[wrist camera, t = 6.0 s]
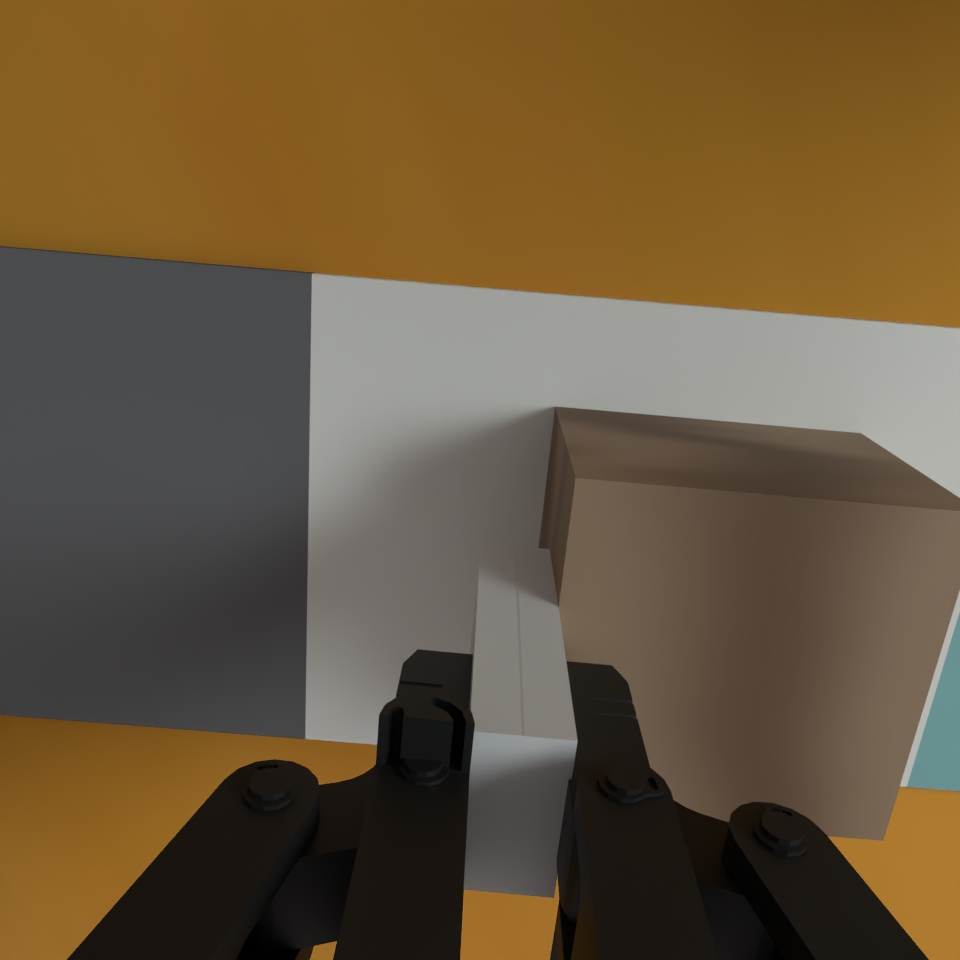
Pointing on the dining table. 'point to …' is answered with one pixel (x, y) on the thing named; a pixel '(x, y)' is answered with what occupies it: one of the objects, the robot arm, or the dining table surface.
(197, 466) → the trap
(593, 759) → the robot arm
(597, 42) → the dining table surface
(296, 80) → the dining table surface
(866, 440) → the walnut block
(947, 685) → the pad
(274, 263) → the dining table surface
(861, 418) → the tile
